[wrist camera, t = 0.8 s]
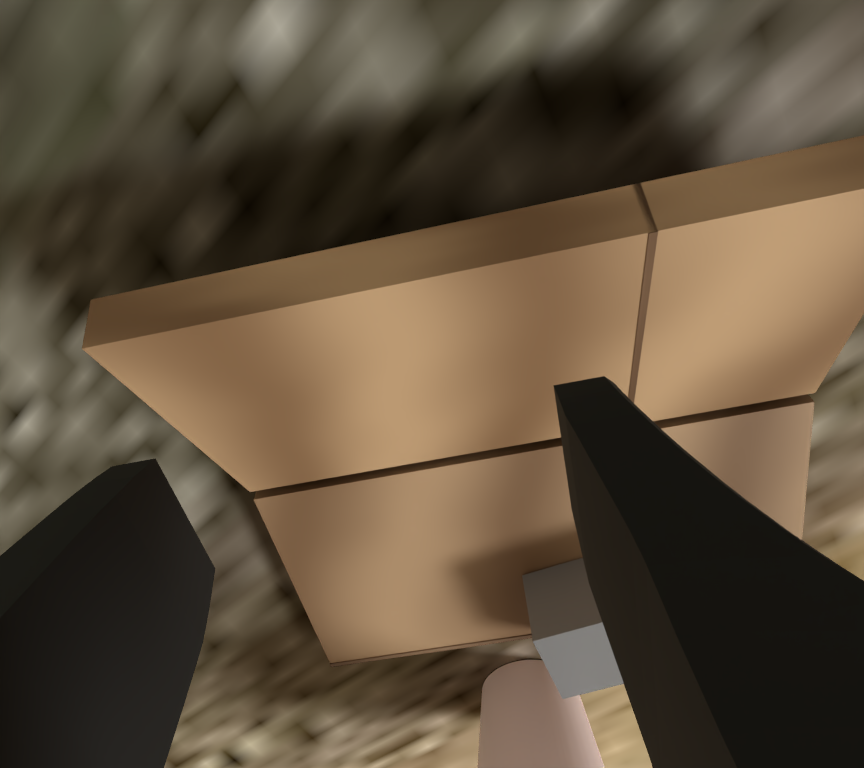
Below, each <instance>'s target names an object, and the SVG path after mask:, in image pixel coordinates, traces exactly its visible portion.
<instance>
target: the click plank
mask: <svg viewBox="0 0 864 768" xmlns="http://www.w3.org/2000/svg"><path fill="white" fill-rule="evenodd" d="M863 314H864V135H863V136H859V137H854V138H849V139H845V140H840V141H835V142H831V143H826V144H821V145H816V146H812V147H807V148H802V149H798V150H793V151H788V152H783V153H779V154H774V155H769V156H765V157H760V158H755V159H750V160H746V161H741V162H736V163H732V164H727V165H722V166H718V167H713V168H708V169H703V170H699V171H694V172H689V173H685V174H680V175H675V176H670V177H666V178H661V179H656V180H652V181H647V182H642V183H638V184H633V185H628V186H623V187H619V188H614V189H609V190H605V191H600V192H595V193H590V194H586V195H581V196H576V197H572V198H567V199H562V200H558V201H553V202H548V203H543V204H539V205H534V206H529V207H525V208H520V209H515V210H510V211H506V212H501V213H496V214H492V215H487V216H482V217H477V218H473V219H468V220H463V221H459V222H454V223H449V224H445V225H440V226H435V227H430V228H426V229H421V230H416V231H412V232H407V233H402V234H397V235H393V236H388V237H383V238H379V239H374V240H369V241H365V242H360V243H355V244H350V245H346V246H341V247H336V248H332V249H327V250H322V251H317V252H313V253H308V254H303V255H299V256H294V257H289V258H285V259H280V260H275V261H270V262H266V263H261V264H256V265H252V266H247V267H242V268H237V269H233V270H228V271H223V272H219V273H214V274H209V275H204V276H200V277H195V278H190V279H186V280H181V281H176V282H172V283H167V284H162V285H157V286H153V287H148V288H143V289H139V290H134V291H129V292H124V293H120V294H115V295H110V296H106V297H101V298H96V299H92V300H91V302H90V307H89V313H88V318H87V324H86V329H85V335H84V340H83V346H82V349H83V350H84V351H85V352H87V353H88V354H89V355H90V356H91V357H92V358H94V359H95V360H96V361H97V362H98V363H99V364H101V365H102V366H103V367H104V368H105V369H106V370H108V371H109V372H110V373H111V374H112V375H113V376H115V377H116V378H117V379H118V380H119V381H121V382H122V383H123V384H124V385H125V386H126V387H128V388H129V389H130V390H131V391H132V392H133V393H135V394H136V395H137V396H138V397H139V398H140V399H142V400H143V401H144V402H145V403H146V404H148V405H149V406H150V407H151V408H152V409H153V410H155V411H156V412H157V413H158V414H159V415H160V416H162V417H163V418H164V419H165V420H166V421H167V422H169V423H170V424H171V425H172V426H173V427H174V428H176V429H177V430H178V431H179V432H180V433H182V434H183V435H184V436H185V437H186V438H187V439H189V440H190V441H191V442H192V443H193V444H194V445H196V446H197V447H198V448H199V449H200V450H201V451H203V452H204V453H205V454H206V455H207V456H208V457H210V458H211V459H212V460H213V461H214V462H216V463H217V464H218V465H219V466H220V467H221V468H223V469H224V470H225V471H226V472H227V473H228V474H230V475H231V476H232V477H233V478H234V479H235V480H237V481H238V482H239V483H240V484H241V485H242V486H244V487H245V488H246V489H247V490H248V491H250V492H253V491H259V490H264V489H270V488H276V487H281V486H287V485H293V484H299V483H304V482H310V481H316V480H321V479H327V478H333V477H338V476H344V475H350V474H356V473H361V472H367V471H373V470H378V469H384V468H390V467H395V466H401V465H407V464H412V463H418V462H424V461H430V460H435V459H441V458H447V457H452V456H458V455H464V454H469V453H475V452H481V451H487V450H492V449H498V448H504V447H509V446H515V445H521V444H526V443H532V442H538V441H544V440H549V439H555V438H561V433H560V427H559V420H558V413H557V406H556V399H555V393H554V386H553V385H558V384H564V383H569V382H575V381H580V380H586V379H591V378H597V377H602V376H605V377H606V378H608V379H609V380H611V381H612V382H614V383H615V384H616V385H617V387H618V388H619V389H620V390H621V391H622V392H623V393H624V394H625V395H626V396H627V397H628V398H629V399H630V400H631V401H632V402H633V403H634V404H635V405H636V406H637V407H638V408H639V409H640V410H641V411H643V412H644V413H645V414H646V415H647V416H648V417H649V418H650V419H651V420H652V421H657V420H663V419H669V418H675V417H680V416H686V415H692V414H697V413H703V412H709V411H714V410H720V409H726V408H732V407H737V406H743V405H749V404H754V403H760V402H766V401H771V400H777V399H783V398H788V397H794V396H800V395H806V394H811V393H815V392H816V391H817V389H818V387H819V386H820V384H821V382H822V381H823V379H824V378H825V376H826V374H827V373H828V371H829V369H830V368H831V366H832V364H833V363H834V361H835V360H836V358H837V356H838V355H839V353H840V351H841V350H842V348H843V347H844V345H845V343H846V342H847V340H848V338H849V337H850V335H851V333H852V332H853V330H854V329H855V327H856V325H857V324H858V322H859V320H860V319H861V317H862V315H863Z"/></svg>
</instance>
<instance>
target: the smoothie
mask: <svg viewBox="0 0 864 768" xmlns="http://www.w3.org/2000/svg"><path fill="white" fill-rule="evenodd" d="M478 768H605V767H604V764H603V761H602V759H601V756H600V753H599V750H598V747H597V744H596V741H595V738H594V735H593V732H592V729H591V727H590V724H589V721H588V718H587V715H586V712H585V709H584V706H583V703H582V700H581V697H580V695H577V696H573V697H569V698H566V699H562V697H561V695H560V693H559V691H558V689H557V687H556V685H555V684H554V682H553V680H552V678H551V676H550V674H549V672H548V670H547V668H546V666H545V664H544V662H543V660H521V661H516V662H512V663H509V664H506V665H504V666H501V667H500V668H498V669H496V670H495V671H493V672H492V673H491V674H490V675H489V676H488V677H487V678H486V680H485V682H484V684H483V687H482V701H481V718H480V736H479V753H478Z"/></svg>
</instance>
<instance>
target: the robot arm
mask: <svg viewBox="0 0 864 768" xmlns="http://www.w3.org/2000/svg"><path fill="white" fill-rule="evenodd" d="M553 386H554V393H555V399H556V406H557V413H558V420H559V427H560V433H561V440H562V447H563V454H564V461H565V467H566V474H567V481H568V488H569V495H570V501H571V508H572V513H573V518H574V522H575V526H576V531H577V535H578V539H579V544H580V548H581V552H582V556H583V561H584V565H585V569H586V573H587V578H588V582H589V585H590V588H591V591H592V594H593V597H594V599H595V602H596V605H597V608H598V611H599V614H600V617H601V620H602V623H603V625H604V628H605V631H606V634H607V637H608V640H609V643H610V646H611V648H612V651H613V654H614V657H615V660H616V663H617V665H618V668H619V671H620V674H621V677H622V680H623V683H624V685H625V688H626V691H627V694H628V697H629V700H630V703H631V705H632V708H633V711H634V714H635V717H636V720H637V723H638V725H639V728H640V731H641V734H642V737H643V740H644V743H645V745H646V748H647V751H648V754H649V757H650V760H651V763H652V766H653V768H864V581H863V580H861V579H860V578H858V577H857V576H855V575H854V574H852V573H850V572H849V571H847V570H846V569H844V568H842V567H841V566H839V565H838V564H836V563H835V562H833V561H832V560H830V559H829V558H827V557H826V556H824V555H823V554H821V553H820V552H818V551H817V550H815V549H814V548H812V547H811V546H810V545H808V544H807V543H805V542H804V541H802V540H801V539H799V538H798V537H797V536H795V535H794V534H792V533H791V532H789V531H788V530H787V529H785V528H784V527H783V526H781V525H780V524H778V523H777V522H776V521H774V520H773V519H772V518H770V517H769V516H768V515H766V514H765V513H763V512H762V511H761V510H759V509H758V508H757V507H755V506H754V505H753V504H751V503H750V502H749V501H747V500H746V499H745V498H743V497H742V496H741V495H740V494H738V493H737V492H736V491H734V490H733V489H732V488H731V487H729V486H728V485H727V484H725V483H724V482H723V481H722V480H721V479H719V478H718V477H717V476H716V475H714V474H713V473H712V472H711V471H710V470H708V469H707V468H706V467H705V466H704V465H702V464H701V463H700V462H699V461H698V460H696V459H695V458H694V457H693V456H692V455H690V454H689V453H688V452H687V451H686V450H684V449H683V448H682V447H681V446H680V445H679V444H677V443H676V442H675V441H674V440H673V439H672V438H671V437H670V436H668V435H667V434H666V433H665V432H664V431H663V430H662V429H661V428H660V427H659V426H658V425H656V424H655V423H654V422H653V421H652V420H651V419H650V418H649V417H648V416H647V415H646V414H645V413H644V412H643V411H641V410H640V409H639V408H638V407H637V406H636V405H635V404H634V403H633V402H632V401H631V400H630V399H629V398H628V397H627V396H626V395H625V394H624V393H623V392H622V391H621V390H620V389H619V388H618V387H617V385H616V384H615V383H614V382H612V381H611V380H609V379H608V378H606V377H605V376H602V377H597V378H591V379H586V380H580V381H575V382H569V383H564V384H558V385H553ZM214 573H215V567H214V566H213V564H212V562H211V560H210V558H209V556H208V555H207V553H206V551H205V549H204V547H203V545H202V543H201V542H200V540H199V538H198V536H197V534H196V532H195V531H194V529H193V527H192V525H191V523H190V521H189V520H188V518H187V516H186V514H185V512H184V510H183V508H182V507H181V505H180V503H179V501H178V499H177V497H176V496H175V494H174V492H173V490H172V488H171V486H170V485H169V483H168V481H167V479H166V477H165V475H164V474H163V472H162V470H161V468H160V466H159V464H158V462H157V461H156V459H150V460H145V461H140V462H134V463H129V464H123V465H118V466H112V467H111V468H109V469H108V470H106V471H105V472H103V473H102V474H100V475H99V476H97V477H96V478H95V479H93V480H92V481H91V482H89V483H88V484H87V485H85V486H84V487H83V488H82V489H80V490H79V491H78V492H76V493H75V494H74V495H73V496H71V497H70V498H69V499H68V500H66V501H65V502H64V503H63V504H62V505H60V506H59V507H58V508H57V509H56V510H54V511H53V512H52V513H51V514H50V515H48V516H47V517H46V518H45V519H44V520H42V521H41V522H40V523H39V524H38V525H36V526H35V527H34V528H33V529H32V530H30V531H29V532H28V533H27V534H26V535H25V536H23V537H22V538H21V539H20V540H19V541H17V542H16V543H15V544H14V545H13V546H12V547H10V548H9V549H8V550H7V551H6V552H4V553H3V554H2V555H1V556H0V768H164V765H165V762H166V759H167V756H168V753H169V750H170V747H171V743H172V740H173V737H174V734H175V731H176V728H177V725H178V721H179V718H180V715H181V712H182V709H183V706H184V703H185V699H186V696H187V693H188V690H189V686H190V683H191V680H192V677H193V673H194V670H195V667H196V664H197V660H198V657H199V653H200V650H201V647H202V643H203V639H204V634H205V628H206V623H207V618H208V612H209V607H210V600H211V593H212V587H213V580H214Z"/></svg>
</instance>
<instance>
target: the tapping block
mask: <svg viewBox="0 0 864 768" xmlns="http://www.w3.org/2000/svg"><path fill="white" fill-rule="evenodd" d="M522 578H523V584H524V590H525V596H526V603H527V609H528V615H529V621H530V627H531V633H532V639H533V642H534V644H535V646H536V648H537V650H538V652H539V654H540V656H541V658H542V660H543V662H544V664H545V666H546V668H547V670H548V672H549V674H550V676H551V678H552V680H553V682H554V684H555V685H556V687H557V689H558V691H559V693H560V695H561V697H562V699H566V698H569V697H573V696H577V695H581V694H585V693H589V692H593V691H597V690H601V689H605V688H609V687H613V686H617V685H621V684H624V683H623V680H622V677H621V674H620V671H619V668H618V665H617V663H616V660H615V657H614V654H613V651H612V648H611V646H610V643H609V640H608V637H607V634H606V631H605V628H604V625H603V623H602V620H601V617H600V614H599V611H598V608H597V605H596V602H595V599H594V597H593V594H592V591H591V588H590V585H589V582H588V578H587V573H586V569H585V565H584V561H583V558H580V559H576V560H573V561H570V562H566V563H563V564H559V565H556V566H552V567H549V568H546V569H542V570H539V571H535V572H532V573H528V574H525V575H522Z"/></svg>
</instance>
